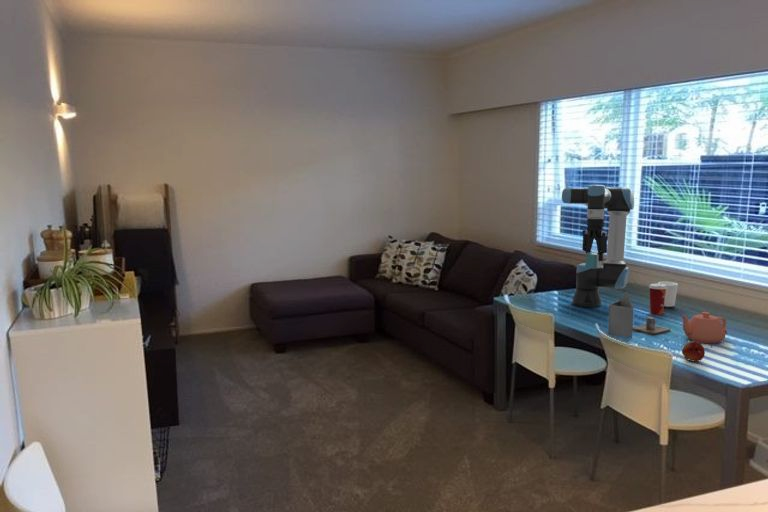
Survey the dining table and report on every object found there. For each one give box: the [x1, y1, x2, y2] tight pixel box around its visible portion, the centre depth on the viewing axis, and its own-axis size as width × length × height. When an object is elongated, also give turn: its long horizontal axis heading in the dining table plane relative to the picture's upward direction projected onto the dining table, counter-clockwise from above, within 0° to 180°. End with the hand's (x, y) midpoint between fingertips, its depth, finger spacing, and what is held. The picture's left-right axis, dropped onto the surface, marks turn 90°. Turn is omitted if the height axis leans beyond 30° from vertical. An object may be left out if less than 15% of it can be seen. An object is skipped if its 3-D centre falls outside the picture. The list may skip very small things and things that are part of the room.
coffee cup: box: [649, 283, 667, 316], centre depth 306 cm, size 8×8×15 cm
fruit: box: [681, 341, 706, 362], centre depth 234 cm, size 8×8×8 cm
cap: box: [585, 252, 598, 269], centre depth 282 cm, size 5×5×7 cm
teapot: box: [680, 311, 728, 344], centre depth 260 cm, size 22×16×12 cm
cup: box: [657, 281, 679, 309], centre depth 320 cm, size 10×10×13 cm
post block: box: [633, 316, 671, 336], centre depth 276 cm, size 12×12×6 cm
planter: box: [608, 291, 634, 339], centre depth 273 cm, size 16×8×19 cm, turn 178°
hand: (593, 266), depth 283 cm, fingers closed on cap, 5 cm apart
